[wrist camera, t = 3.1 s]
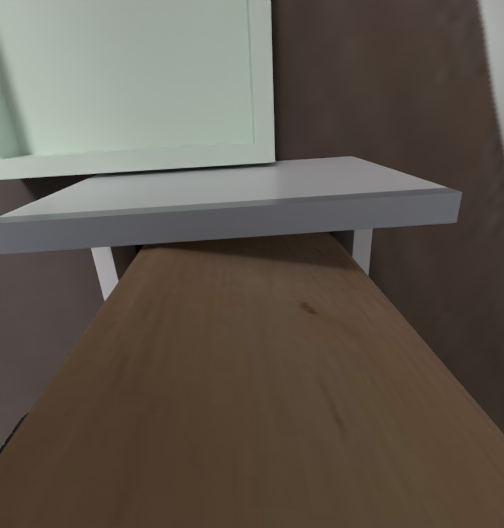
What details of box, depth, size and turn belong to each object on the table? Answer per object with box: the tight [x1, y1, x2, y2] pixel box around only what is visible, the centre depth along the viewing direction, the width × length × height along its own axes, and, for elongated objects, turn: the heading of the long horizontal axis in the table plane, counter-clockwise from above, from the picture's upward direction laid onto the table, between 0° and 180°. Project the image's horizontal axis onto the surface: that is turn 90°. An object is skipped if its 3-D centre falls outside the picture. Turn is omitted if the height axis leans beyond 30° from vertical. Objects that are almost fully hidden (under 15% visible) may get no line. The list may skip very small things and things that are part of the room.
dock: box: [0, 156, 462, 301], centre depth 18 cm, size 14×15×11 cm
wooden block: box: [0, 231, 504, 528], centre depth 14 cm, size 10×10×20 cm
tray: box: [0, 0, 275, 180], centre depth 16 cm, size 15×15×2 cm
